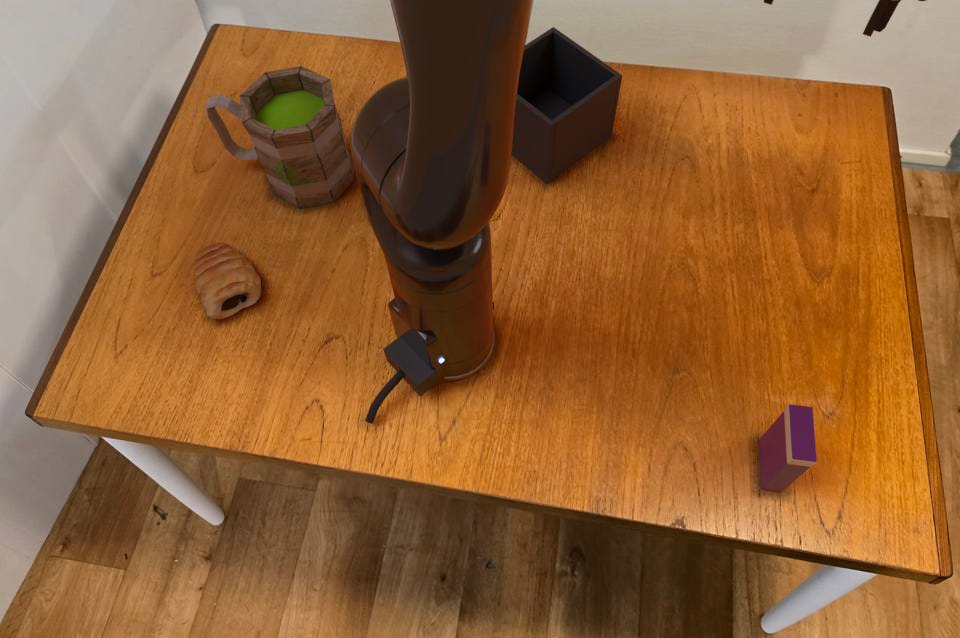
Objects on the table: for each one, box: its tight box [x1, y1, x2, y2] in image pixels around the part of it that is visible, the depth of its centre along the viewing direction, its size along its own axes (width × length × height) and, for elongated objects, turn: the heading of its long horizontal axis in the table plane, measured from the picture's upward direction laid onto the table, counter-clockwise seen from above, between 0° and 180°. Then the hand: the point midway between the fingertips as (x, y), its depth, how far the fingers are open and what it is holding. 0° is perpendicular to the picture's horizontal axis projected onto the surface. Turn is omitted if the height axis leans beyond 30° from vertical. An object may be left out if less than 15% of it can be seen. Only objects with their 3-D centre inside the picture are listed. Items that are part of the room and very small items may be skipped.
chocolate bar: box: [758, 403, 818, 493], centre depth 68 cm, size 2×5×9 cm, turn 172°
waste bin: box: [511, 26, 623, 184], centre depth 89 cm, size 11×11×10 cm
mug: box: [205, 65, 356, 209], centre depth 86 cm, size 16×11×12 cm
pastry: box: [192, 241, 262, 320], centre depth 82 cm, size 9×7×4 cm
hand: (819, 14), depth 64 cm, fingers open, 8 cm apart
